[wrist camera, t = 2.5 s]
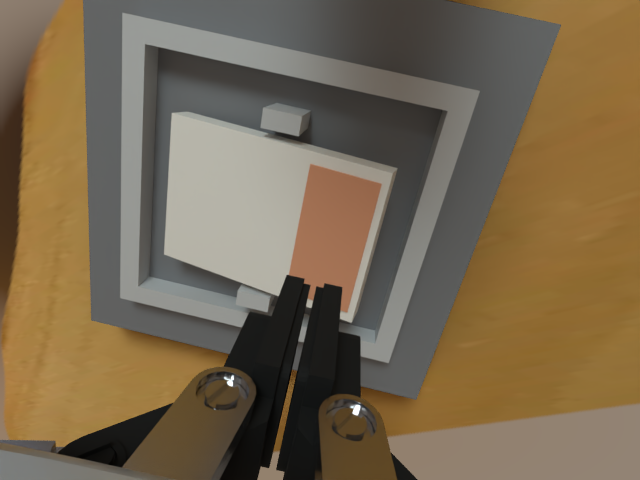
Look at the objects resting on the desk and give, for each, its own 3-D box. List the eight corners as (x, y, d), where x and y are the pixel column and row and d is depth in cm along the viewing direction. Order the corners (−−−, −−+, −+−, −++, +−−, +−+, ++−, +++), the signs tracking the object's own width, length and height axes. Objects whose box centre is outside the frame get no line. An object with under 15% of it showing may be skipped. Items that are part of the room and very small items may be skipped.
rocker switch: (397, 168, 17) (392, 173, 16) (357, 310, 20) (351, 324, 18) (188, 111, 19) (170, 112, 18) (178, 246, 22) (162, 255, 21)
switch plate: (534, 31, 19) (593, 16, 14) (411, 366, 27) (420, 435, 22) (121, -57, 20) (33, -102, 15) (119, 295, 28) (61, 346, 23)
